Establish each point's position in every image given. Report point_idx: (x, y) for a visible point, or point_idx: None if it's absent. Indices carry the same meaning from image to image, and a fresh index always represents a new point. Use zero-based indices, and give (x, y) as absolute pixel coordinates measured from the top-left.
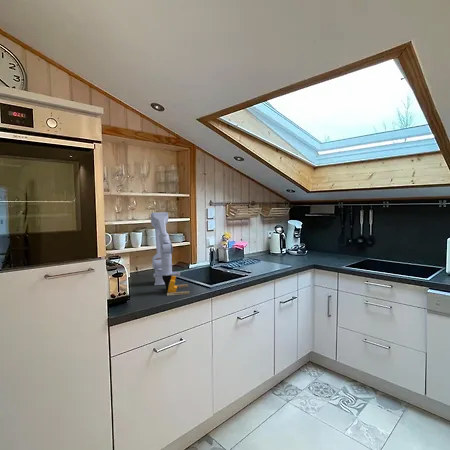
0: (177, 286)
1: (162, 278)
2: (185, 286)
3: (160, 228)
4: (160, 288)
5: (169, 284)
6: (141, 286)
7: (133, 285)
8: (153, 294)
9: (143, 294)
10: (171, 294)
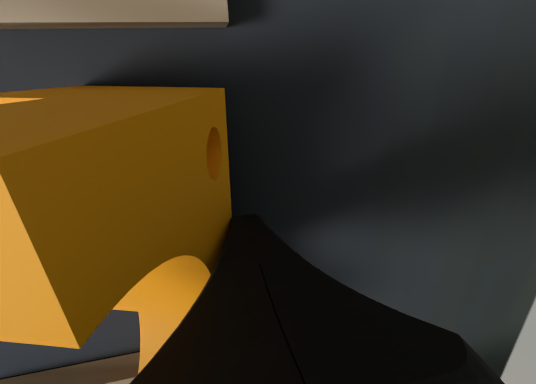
0: (132, 364)
1: (491, 377)
2: (24, 381)
3: None
4: None
5: (199, 255)
6: None
7: (504, 365)
8: (420, 105)
9: (521, 125)
10: None
